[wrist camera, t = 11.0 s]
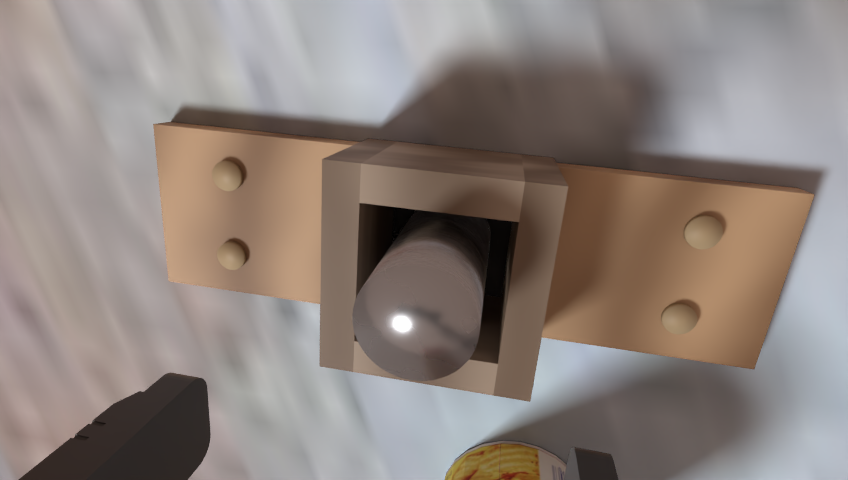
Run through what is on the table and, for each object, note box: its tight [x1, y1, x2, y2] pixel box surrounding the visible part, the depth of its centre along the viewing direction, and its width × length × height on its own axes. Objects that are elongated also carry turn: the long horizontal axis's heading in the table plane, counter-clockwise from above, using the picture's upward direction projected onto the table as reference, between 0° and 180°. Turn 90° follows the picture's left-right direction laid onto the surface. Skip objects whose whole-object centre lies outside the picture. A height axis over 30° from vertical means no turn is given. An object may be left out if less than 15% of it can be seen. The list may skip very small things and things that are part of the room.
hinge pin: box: [352, 210, 491, 381], centre depth 20 cm, size 4×4×9 cm
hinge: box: [153, 122, 814, 401], centre depth 21 cm, size 28×8×6 cm, turn 86°
